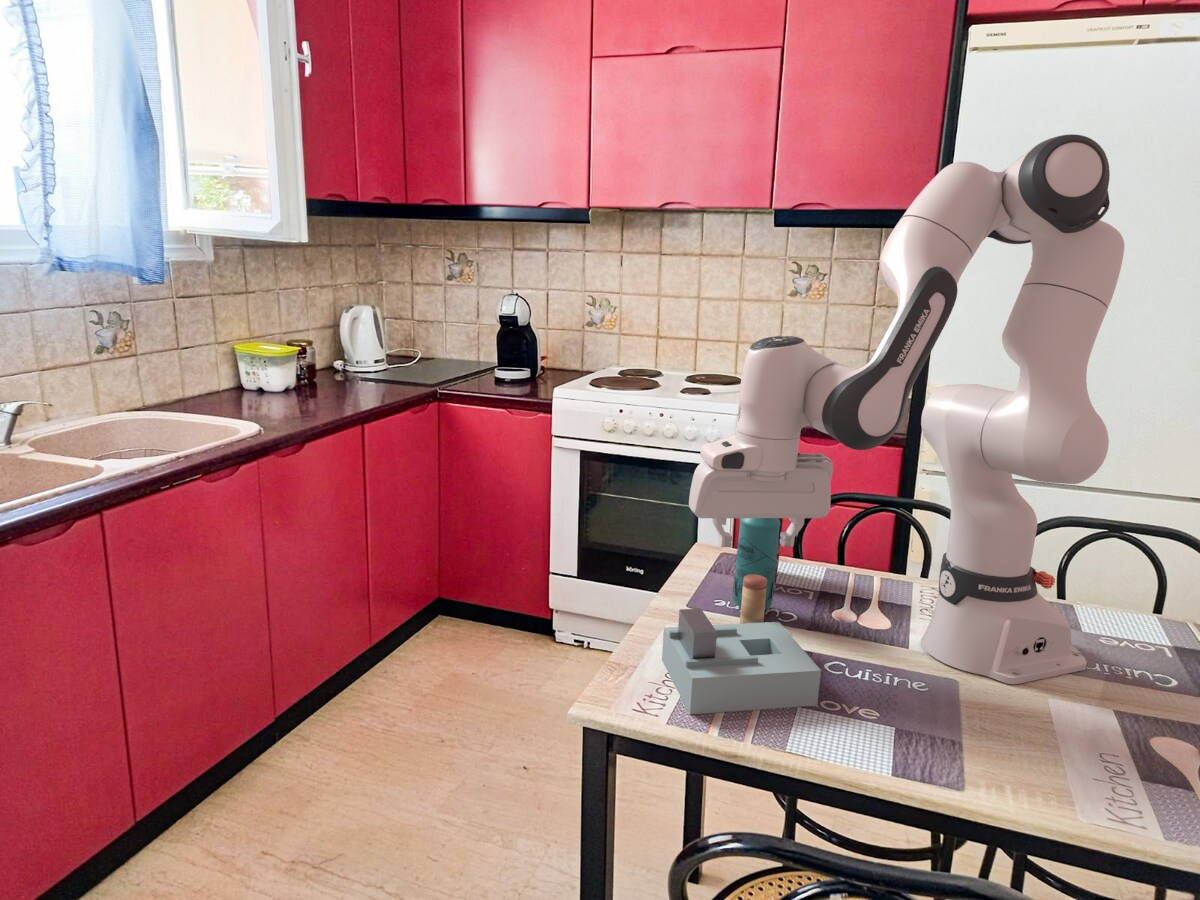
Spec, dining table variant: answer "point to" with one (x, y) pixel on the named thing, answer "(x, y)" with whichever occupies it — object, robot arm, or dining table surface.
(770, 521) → the beverage bottle
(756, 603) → the pin
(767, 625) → the block
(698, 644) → the bar
